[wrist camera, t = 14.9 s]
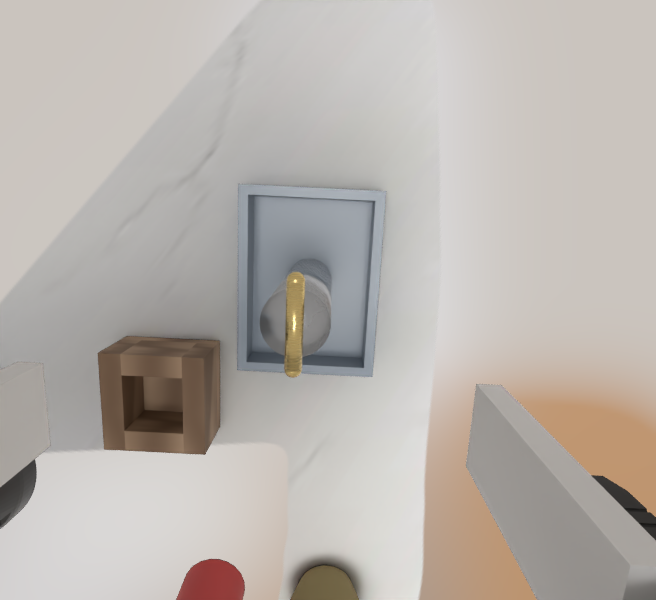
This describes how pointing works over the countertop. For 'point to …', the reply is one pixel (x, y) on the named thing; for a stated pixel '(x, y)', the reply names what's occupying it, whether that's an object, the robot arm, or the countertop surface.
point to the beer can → (212, 582)
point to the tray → (320, 244)
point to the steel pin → (298, 314)
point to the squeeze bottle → (324, 585)
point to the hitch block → (160, 394)
